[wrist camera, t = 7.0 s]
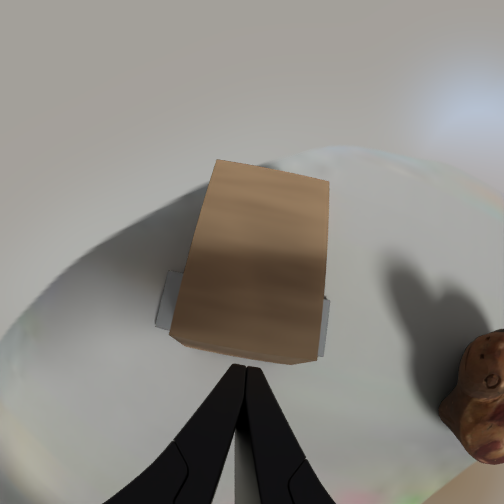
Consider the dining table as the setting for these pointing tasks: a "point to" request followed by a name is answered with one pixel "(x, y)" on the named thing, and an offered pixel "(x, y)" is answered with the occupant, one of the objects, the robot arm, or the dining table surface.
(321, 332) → the slate pad
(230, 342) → the walnut block
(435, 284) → the dining table surface
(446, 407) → the decorative turtle
